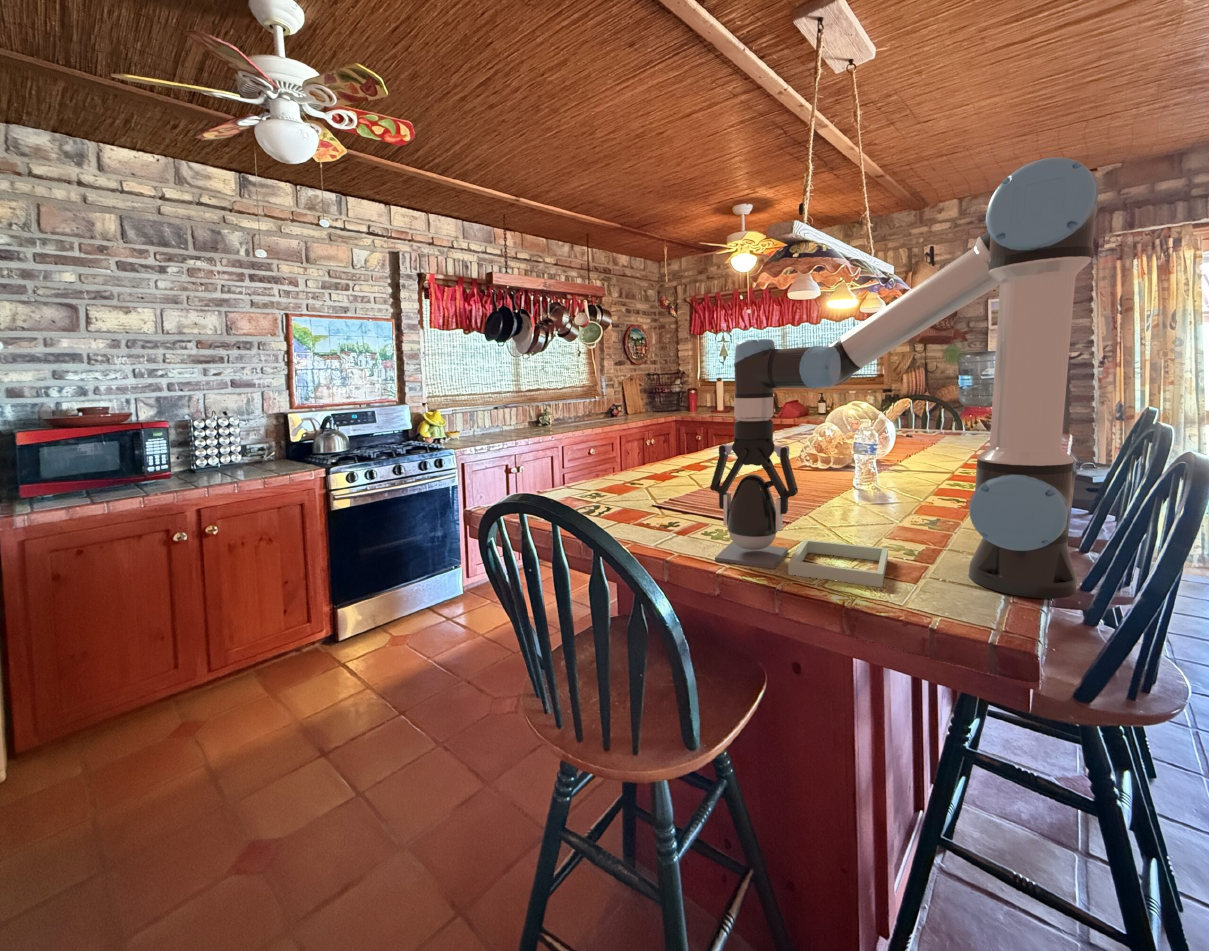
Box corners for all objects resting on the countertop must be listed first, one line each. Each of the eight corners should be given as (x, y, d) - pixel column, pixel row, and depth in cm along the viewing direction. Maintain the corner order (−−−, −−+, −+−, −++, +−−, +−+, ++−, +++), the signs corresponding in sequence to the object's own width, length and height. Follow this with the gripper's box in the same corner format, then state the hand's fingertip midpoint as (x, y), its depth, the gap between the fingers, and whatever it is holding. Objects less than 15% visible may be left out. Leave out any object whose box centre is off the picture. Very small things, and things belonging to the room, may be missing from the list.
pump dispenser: (781, 554, 111) (782, 479, 108) (727, 553, 113) (727, 479, 111) (776, 539, 121) (777, 470, 118) (727, 538, 123) (726, 470, 120)
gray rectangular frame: (887, 560, 112) (888, 548, 112) (882, 587, 99) (882, 574, 98) (803, 550, 120) (804, 539, 120) (788, 574, 106) (788, 562, 106)
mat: (787, 551, 120) (787, 547, 120) (774, 569, 110) (774, 565, 109) (732, 544, 126) (732, 541, 125) (714, 561, 115) (714, 557, 115)
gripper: (816, 417, 110) (813, 527, 114) (705, 417, 121) (706, 517, 125) (809, 420, 104) (806, 537, 108) (693, 420, 115) (694, 525, 119)
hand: (752, 526), depth 116 cm, fingers closed on pump dispenser, 10 cm apart
